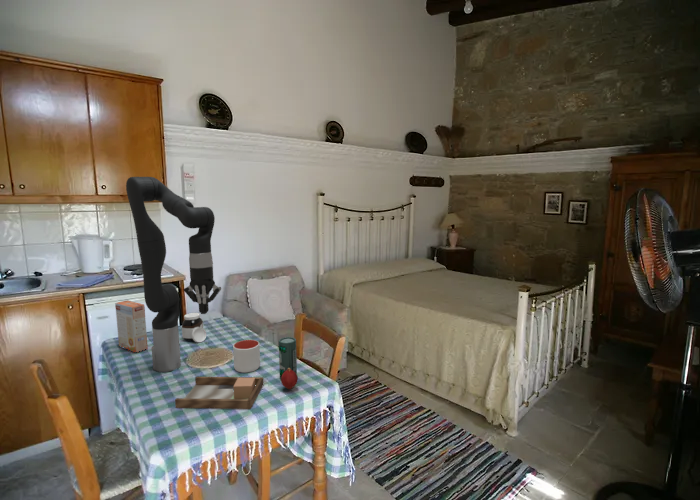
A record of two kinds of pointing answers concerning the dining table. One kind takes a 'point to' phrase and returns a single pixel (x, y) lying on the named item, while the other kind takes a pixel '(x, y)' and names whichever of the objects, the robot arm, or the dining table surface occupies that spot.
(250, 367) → the cup
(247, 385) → the block
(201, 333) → the spread jar
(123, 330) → the cracker box
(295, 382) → the red oval fruit
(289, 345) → the can
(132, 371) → the dining table surface
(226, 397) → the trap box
